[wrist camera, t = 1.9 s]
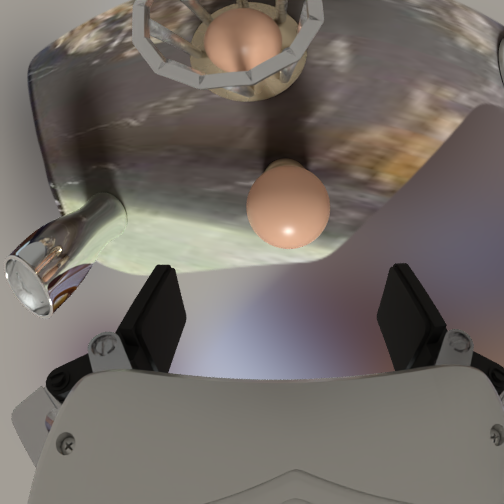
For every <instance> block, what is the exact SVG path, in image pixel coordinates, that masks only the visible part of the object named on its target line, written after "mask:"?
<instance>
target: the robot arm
mask: <svg viewBox="0 0 504 504" xmlns="http://www.w3.org/2000/svg"><path fill="white" fill-rule="evenodd" d="M499 65H500V71H501V76H502V79H503V83H504V38H503V39H502V41H501V43H500V47H499ZM377 321H378V324H379V326H380V329H381V332H382V334H383V337H384V340H385V343H386V346H387V348H388V351H389V354H390V357H391V360H392V363H393V366H394V369H395V371H393V372H385V373H378V374H370V375H360V376H351V377H350V376H349V377H337V378H321V379H297V380H296V379H295V380H258V379H257V380H256V379H230V378H214V377H202V376H192V375H181V374H172V373H168V372H169V369H170V366H171V363H172V360H173V357H174V354H175V351H176V348H177V345H178V342H179V340H180V337H181V334H182V331H183V328H184V326H185V323H186V312H185V309H184V305H183V300H182V296H181V293H180V288H179V284H178V280H177V276H176V271H175V269H174V268H171V266H170V265H157V266H156V267H155V268H154V270H153V272H152V273H151V275H150V276H149V278H148V279H147V281H146V283H145V284H144V286H143V287H142V289H141V291H140V292H139V294H138V295H137V297H136V298H135V300H134V302H133V304H132V305H131V307H130V308H129V310H128V312H127V314H126V315H125V317H124V319H123V321H122V322H121V324H120V326H119V327H118V329H117V331H116V333H113V332H103V333H100V334H98V335H96V336H95V337H94V338H93V339H92V340H91V341H90V343H89V345H88V354H86V355H84V356H81V357H79V358H77V359H75V360H73V361H71V362H69V363H67V364H65V365H62V366H60V367H58V368H56V369H54V370H53V371H52V372H51V373H50V374H49V376H48V377H47V380H46V387H44V388H43V387H42V386H41V387H40V388H38V389H37V390H36V391H35V392H34V393H32V394H31V395H30V396H29V397H27V398H26V399H25V400H24V401H23V402H21V403H20V404H19V405H18V406H17V407H16V408H15V409H14V410H13V413H12V423H13V425H14V427H15V429H16V431H17V434H18V436H19V438H20V440H21V442H22V444H23V445H24V447H25V449H26V451H27V453H28V455H29V456H30V458H31V460H32V462H33V463H34V465H35V467H36V471H35V475H34V479H33V482H32V486H31V491H30V495H29V499H28V504H504V368H503V367H502V366H500V365H499V364H497V363H495V362H493V361H491V360H489V359H487V358H486V357H483V356H481V355H480V354H478V353H476V352H474V351H473V348H474V344H473V341H472V339H471V338H470V336H469V335H468V334H467V333H465V332H464V331H462V330H458V329H452V330H449V331H447V329H446V323H445V321H444V320H443V318H442V316H441V315H440V313H439V311H438V310H437V308H436V306H435V305H434V304H433V302H432V300H431V299H430V297H429V295H428V294H427V292H426V291H425V289H424V288H423V286H422V285H421V283H420V281H419V280H418V279H417V277H416V276H415V274H414V273H413V271H412V270H411V268H410V267H409V265H408V264H406V263H400V264H394V265H393V267H391V268H390V270H389V273H388V278H387V281H386V285H385V289H384V292H383V296H382V299H381V303H380V307H379V309H378V313H377Z"/></svg>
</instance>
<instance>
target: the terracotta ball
mask: <svg viewBox="0 0 504 504" xmlns="http://www.w3.org/2000/svg"><path fill="white" fill-rule="evenodd" d="M329 214H330V201H329V197H328V193H327V191H326V189H325V187H324V185H323V184H322V182H321V181H320V180H319V179H318V178H317V177H316V176H315V175H314V174H313V173H311V172H310V171H308V170H306V169H304V168H301V167H297V166H289V165H287V166H279V167H275V168H272V169H270V170H268V171H266V172H265V173H263V174H262V175H261V176H260V177H258V179H257V180H256V181H255V182H254V184H253V185H252V187H251V189H250V191H249V194H248V198H247V216H248V219H249V222H250V225H251V226H252V228H253V230H254V231H255V232H256V234H257V235H258V236H259V237H260V238H261V239H262V240H264V241H265V242H267V243H268V244H270V245H273V246H275V247H278V248H283V249H294V248H299V247H303V246H305V245H307V244H309V243H311V242H312V241H314V240H315V239H316V238H317V237H318V236H319V235H320V234H321V233H322V232H323V230H324V228H325V226H326V224H327V222H328V219H329Z"/></svg>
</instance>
